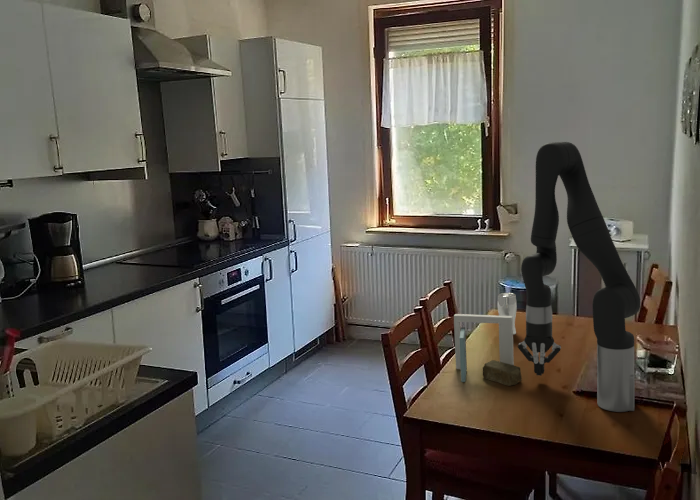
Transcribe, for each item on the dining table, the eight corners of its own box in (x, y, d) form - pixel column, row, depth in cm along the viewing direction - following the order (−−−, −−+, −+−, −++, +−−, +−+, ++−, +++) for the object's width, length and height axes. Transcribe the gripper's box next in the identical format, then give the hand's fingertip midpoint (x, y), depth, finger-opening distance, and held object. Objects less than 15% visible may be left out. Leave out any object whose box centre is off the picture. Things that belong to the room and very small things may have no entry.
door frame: (513, 370, 205) (512, 316, 202) (512, 372, 203) (511, 317, 200) (457, 366, 212) (455, 313, 209) (455, 368, 210) (453, 315, 207)
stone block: (493, 373, 204) (492, 358, 203) (523, 382, 195) (523, 366, 194) (481, 378, 200) (480, 363, 200) (511, 388, 192) (511, 372, 191)
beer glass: (519, 335, 241) (518, 296, 238) (500, 336, 241) (499, 297, 238) (514, 329, 248) (513, 292, 245) (496, 331, 248) (495, 293, 245)
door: (465, 381, 197) (463, 337, 195) (460, 381, 198) (459, 337, 196) (466, 368, 209) (465, 327, 206) (462, 368, 209) (460, 327, 207)
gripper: (514, 321, 190) (515, 377, 193) (561, 324, 185) (561, 381, 188) (517, 314, 197) (518, 368, 200) (563, 317, 192) (563, 372, 195)
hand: (539, 374), depth 194 cm, fingers closed
